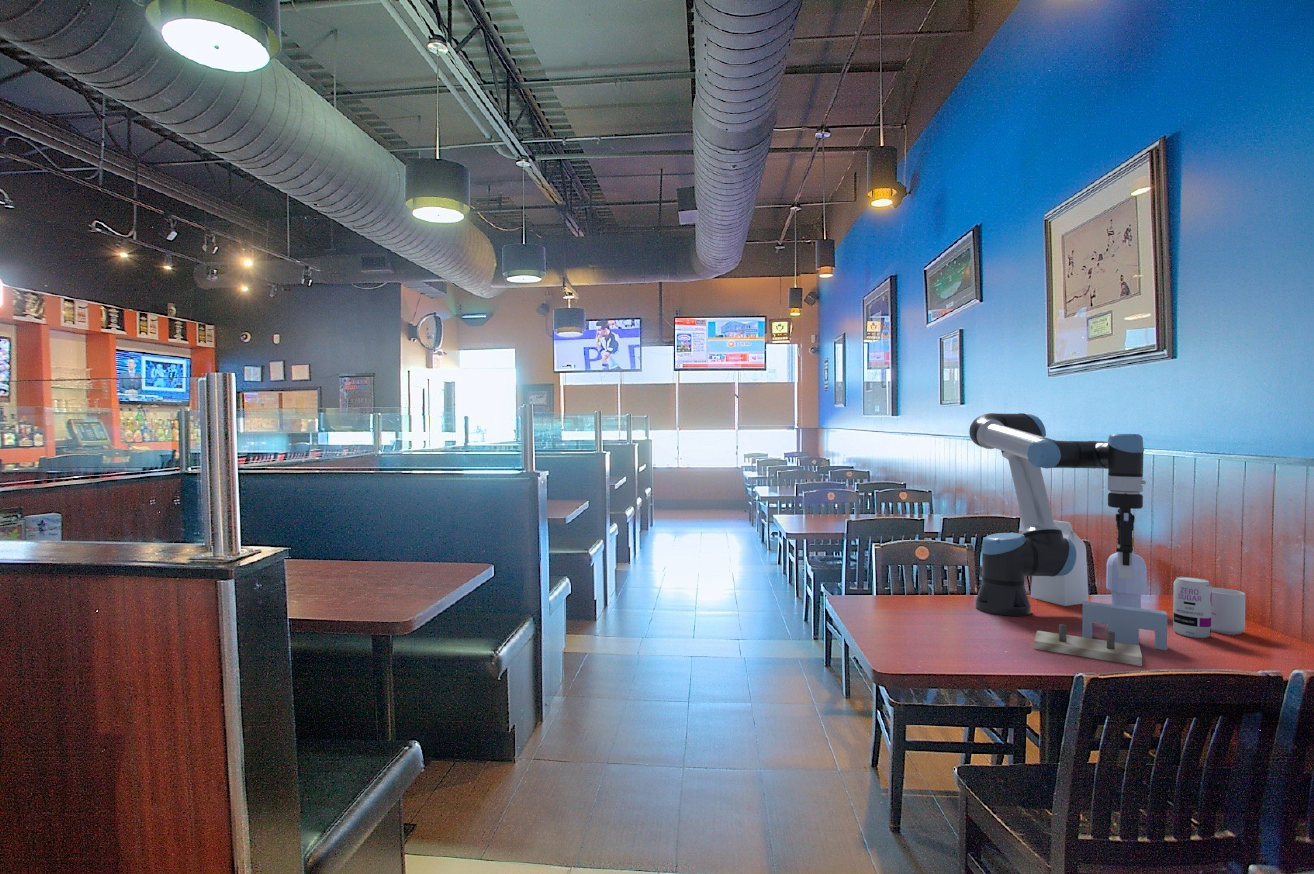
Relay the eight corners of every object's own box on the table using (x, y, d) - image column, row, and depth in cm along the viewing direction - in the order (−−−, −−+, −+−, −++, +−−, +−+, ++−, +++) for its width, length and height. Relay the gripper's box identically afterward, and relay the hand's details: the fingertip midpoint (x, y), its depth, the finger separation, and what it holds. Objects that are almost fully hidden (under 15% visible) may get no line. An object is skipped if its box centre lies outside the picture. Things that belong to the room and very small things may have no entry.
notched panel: (1082, 637, 178) (1082, 604, 178) (1082, 634, 181) (1082, 601, 181) (1166, 650, 168) (1167, 614, 168) (1165, 646, 171) (1165, 611, 171)
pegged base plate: (1034, 648, 168) (1034, 624, 168) (1037, 637, 177) (1037, 615, 177) (1142, 666, 156) (1142, 640, 156) (1139, 653, 165) (1139, 629, 165)
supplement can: (1202, 631, 185) (1203, 577, 185) (1216, 640, 177) (1217, 583, 177) (1167, 628, 188) (1168, 575, 188) (1180, 636, 180) (1180, 581, 180)
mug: (1253, 635, 182) (1254, 594, 182) (1222, 635, 181) (1223, 594, 181) (1214, 623, 194) (1214, 585, 194) (1185, 623, 193) (1185, 585, 193)
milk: (1030, 597, 223) (1031, 519, 223) (1053, 594, 228) (1054, 518, 228) (1064, 605, 212) (1065, 524, 212) (1088, 602, 217) (1089, 522, 217)
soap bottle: (1106, 603, 216) (1107, 528, 216) (1145, 608, 210) (1146, 531, 210) (1105, 609, 208) (1106, 532, 208) (1146, 614, 202) (1147, 535, 202)
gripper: (1146, 496, 162) (1145, 583, 162) (1140, 490, 183) (1139, 568, 183) (1108, 494, 166) (1108, 579, 166) (1107, 489, 187) (1106, 564, 187)
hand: (1124, 573), depth 174 cm, fingers open, 13 cm apart
